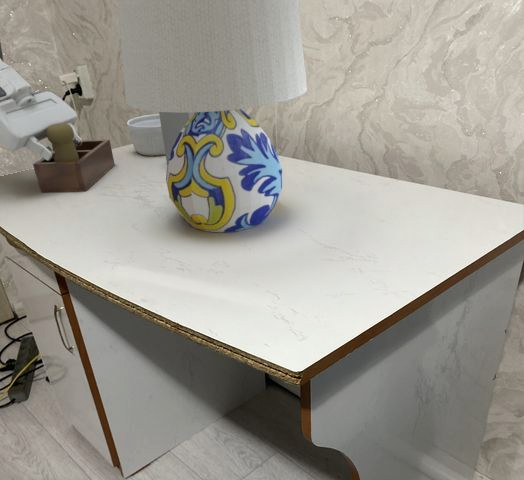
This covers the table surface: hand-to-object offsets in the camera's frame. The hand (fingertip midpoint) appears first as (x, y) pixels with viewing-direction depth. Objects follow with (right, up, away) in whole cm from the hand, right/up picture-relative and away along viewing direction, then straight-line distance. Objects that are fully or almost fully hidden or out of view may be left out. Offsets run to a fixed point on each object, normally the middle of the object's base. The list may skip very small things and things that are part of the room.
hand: (66, 150), depth 108 cm
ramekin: (+14, +9, +23) cm, 29 cm away
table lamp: (+34, -17, -16) cm, 41 cm away
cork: (0, -5, +4) cm, 6 cm away
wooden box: (0, -3, +8) cm, 8 cm away
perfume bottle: (+23, +1, +12) cm, 26 cm away
